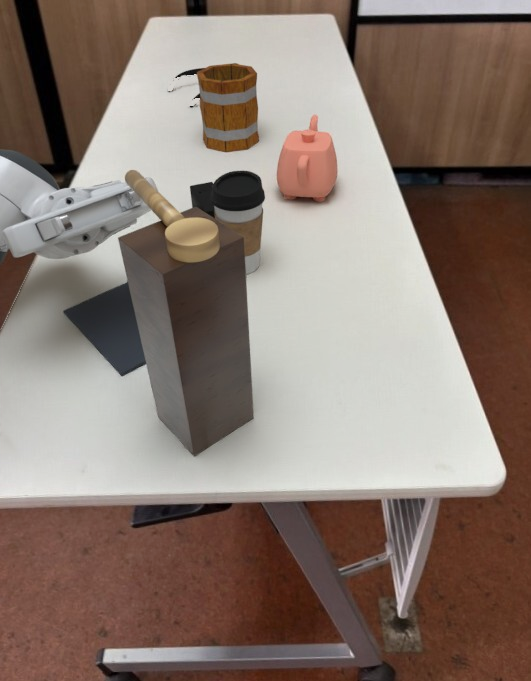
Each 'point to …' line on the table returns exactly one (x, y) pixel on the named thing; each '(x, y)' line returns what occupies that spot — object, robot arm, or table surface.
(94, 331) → the mat
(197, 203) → the digital camera
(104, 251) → the table surface
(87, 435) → the table surface
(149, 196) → the spoon
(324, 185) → the teapot
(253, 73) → the wooden barrel
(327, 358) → the table surface
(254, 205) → the coffee cup
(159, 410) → the stand
